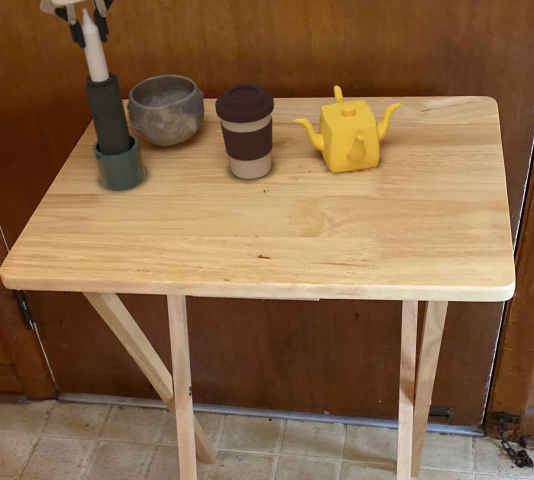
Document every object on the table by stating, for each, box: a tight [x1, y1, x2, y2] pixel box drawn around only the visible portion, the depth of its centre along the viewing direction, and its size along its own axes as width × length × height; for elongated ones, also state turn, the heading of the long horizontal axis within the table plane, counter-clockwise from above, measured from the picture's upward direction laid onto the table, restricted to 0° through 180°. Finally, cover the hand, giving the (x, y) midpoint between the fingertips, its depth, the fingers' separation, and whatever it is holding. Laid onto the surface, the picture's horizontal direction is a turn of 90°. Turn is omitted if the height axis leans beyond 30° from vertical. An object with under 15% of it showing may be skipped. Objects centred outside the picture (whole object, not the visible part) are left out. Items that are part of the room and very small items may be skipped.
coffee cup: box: [214, 82, 275, 180], centre depth 141 cm, size 10×10×15 cm
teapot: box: [293, 85, 402, 174], centre depth 144 cm, size 15×14×10 cm
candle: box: [81, 6, 131, 155], centre depth 135 cm, size 5×5×25 cm
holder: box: [92, 132, 146, 191], centre depth 145 cm, size 8×8×7 cm
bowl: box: [126, 74, 205, 147], centre depth 154 cm, size 14×15×10 cm
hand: (91, 41), depth 130 cm, fingers closed on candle, 3 cm apart
